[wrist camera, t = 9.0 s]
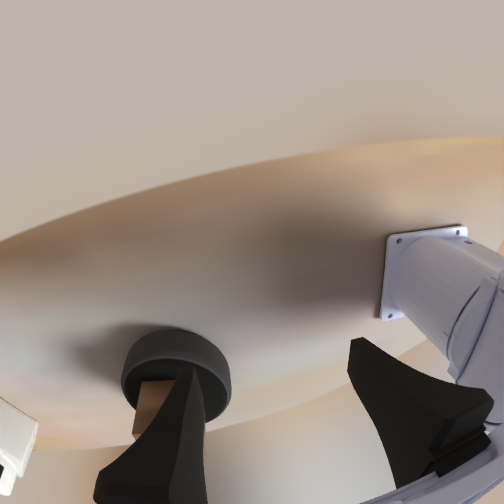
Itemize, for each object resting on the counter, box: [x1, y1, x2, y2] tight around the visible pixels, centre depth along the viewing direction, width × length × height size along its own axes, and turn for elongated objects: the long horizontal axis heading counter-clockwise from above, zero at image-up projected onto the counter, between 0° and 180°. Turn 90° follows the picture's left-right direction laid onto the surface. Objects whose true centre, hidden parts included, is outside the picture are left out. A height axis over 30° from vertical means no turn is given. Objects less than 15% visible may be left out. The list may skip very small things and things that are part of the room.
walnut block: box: [132, 380, 207, 463], centre depth 18 cm, size 4×4×5 cm
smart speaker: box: [121, 331, 231, 423], centre depth 23 cm, size 9×9×4 cm
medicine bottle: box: [0, 398, 38, 496], centre depth 20 cm, size 7×7×12 cm
